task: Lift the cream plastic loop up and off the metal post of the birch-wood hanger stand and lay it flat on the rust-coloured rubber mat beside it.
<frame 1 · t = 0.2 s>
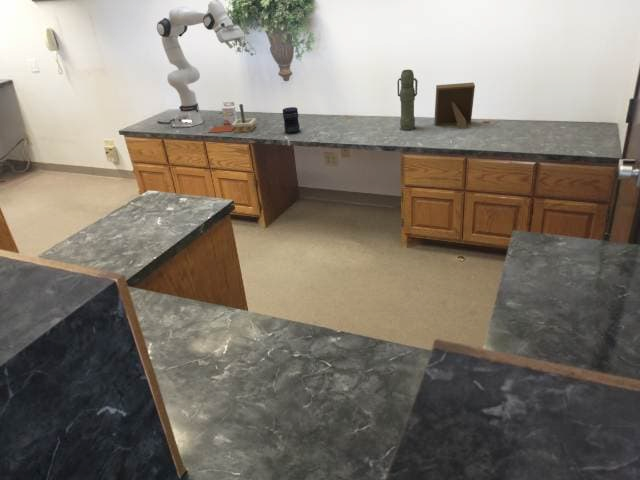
hand: (236, 46, 319), 54 cm above the counter, tool tilted 30°, fingers open, 8 cm apart
thermos: (407, 128, 317), on the counter
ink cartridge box: (231, 123, 366), on the counter
loop: (244, 123, 345), point 4 cm above the counter, touching stand
stand: (244, 129, 347), on the counter
photo frame: (453, 126, 313), on the counter
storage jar: (292, 132, 332), on the counter
mat: (222, 129, 353), on the counter
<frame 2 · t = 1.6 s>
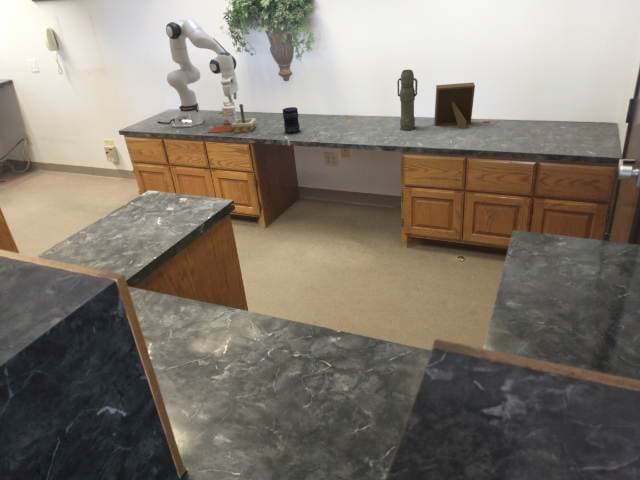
hand: (233, 100, 332), 21 cm above the counter, tool pointing down, fingers open, 8 cm apart
nothing on the counter moved.
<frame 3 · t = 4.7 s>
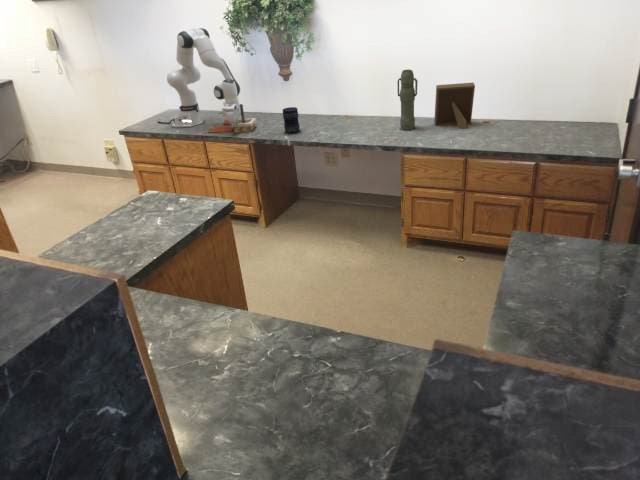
hand: (236, 125, 340), 4 cm above the counter, tool pointing down, fingers closed on loop, 2 cm apart
loop: (244, 123, 345), point 4 cm above the counter, touching gripper, stand
everything else where it was.
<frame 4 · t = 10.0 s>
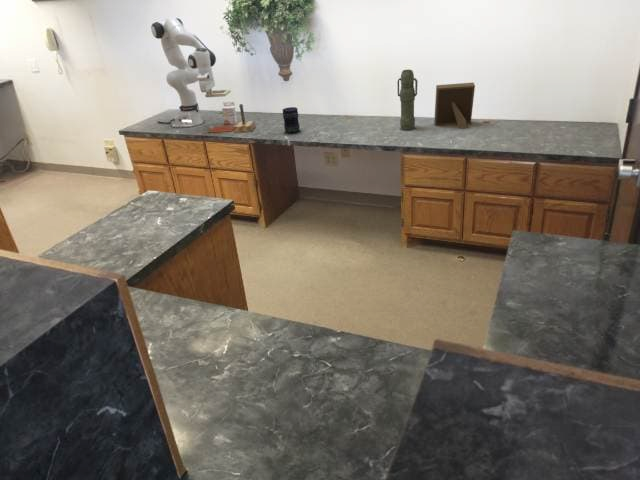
hand: (209, 96, 337), 24 cm above the counter, tool pointing down, fingers closed on loop
loop: (218, 94, 342), point 24 cm above the counter, touching gripper
everything else where it was.
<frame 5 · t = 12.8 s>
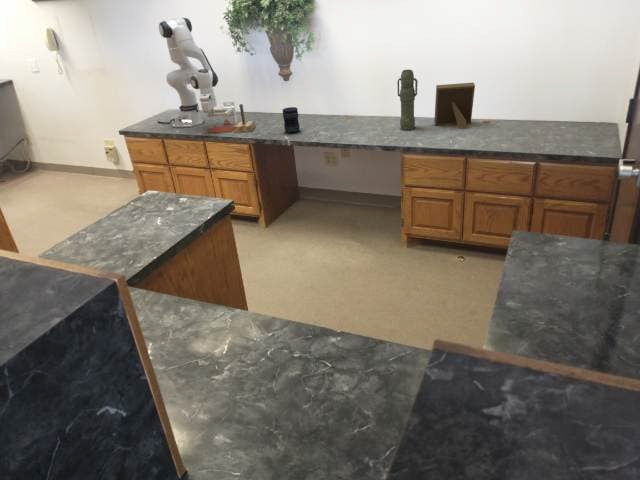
hand: (211, 115, 343), 11 cm above the counter, tool pointing down, fingers closed on loop
loop: (220, 114, 348), point 11 cm above the counter, touching gripper
everything else where it was.
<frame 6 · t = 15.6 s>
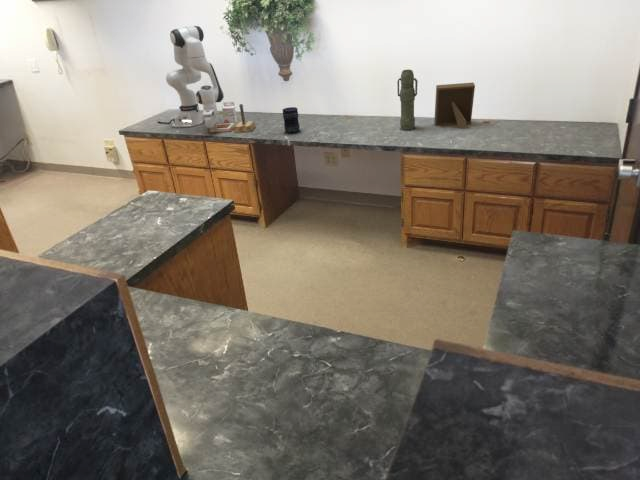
hand: (214, 131, 348), 1 cm above the counter, tool pointing down, fingers open, 3 cm apart
loop: (222, 128, 353), resting on mat, touching gripper
everything else where it was.
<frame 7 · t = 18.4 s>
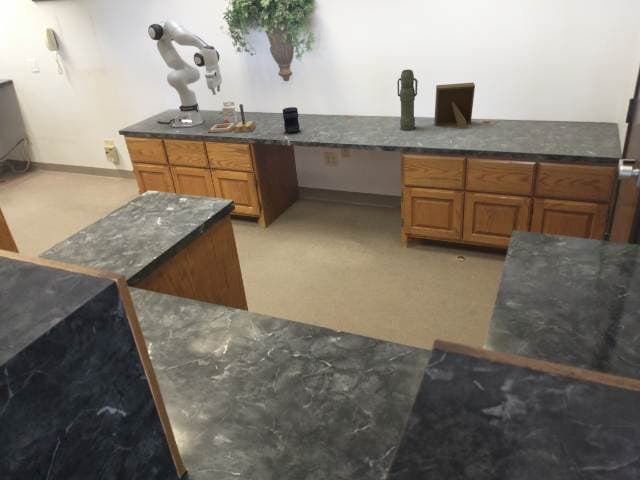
hand: (216, 93, 345), 24 cm above the counter, tool pointing down, fingers open, 8 cm apart
loop: (222, 128, 353), resting on mat
everything else where it was.
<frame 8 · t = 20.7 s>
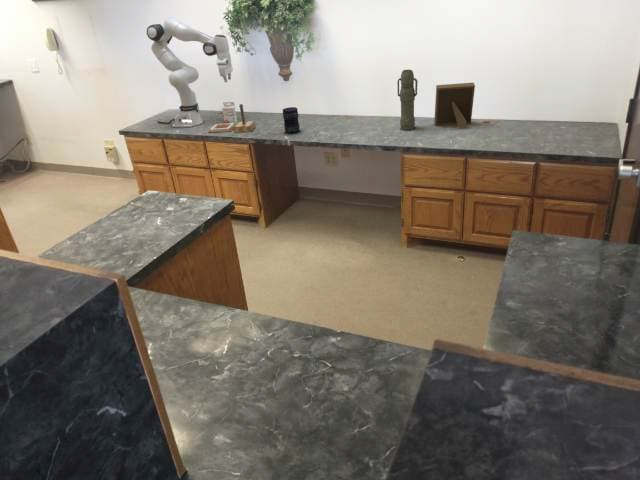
hand: (227, 80, 355), 29 cm above the counter, tool pointing down, fingers open, 8 cm apart
nothing on the counter moved.
at the end: loop inside the target area on the mat (0.1 cm from its centre), point 0.4 cm above the mat's base; loop tilted 0°; loop touching mat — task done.
